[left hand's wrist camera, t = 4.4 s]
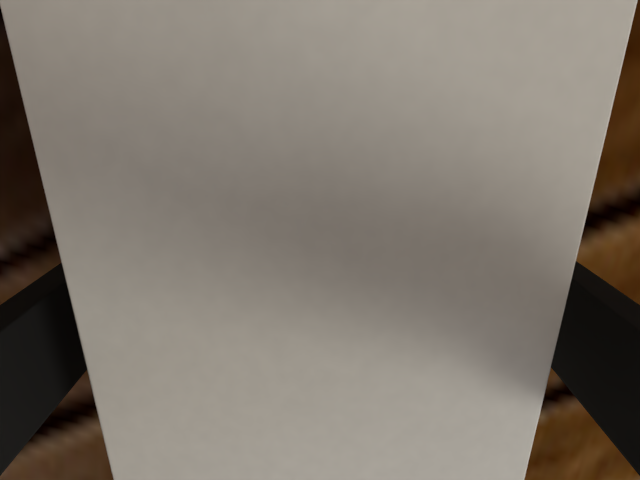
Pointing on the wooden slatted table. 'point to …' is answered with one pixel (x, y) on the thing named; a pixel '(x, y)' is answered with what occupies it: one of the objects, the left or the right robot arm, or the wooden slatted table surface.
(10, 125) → the wooden slatted table surface
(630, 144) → the wooden slatted table surface
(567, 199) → the cabinet
